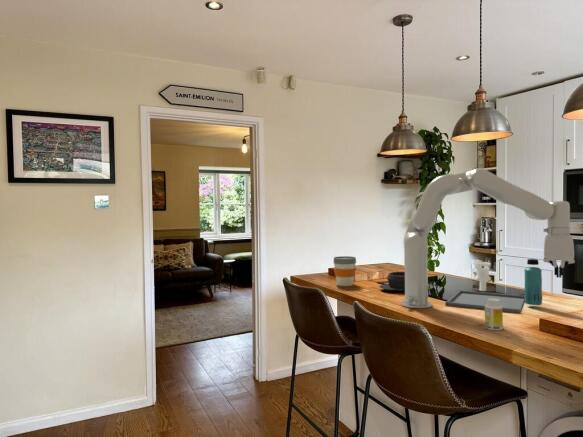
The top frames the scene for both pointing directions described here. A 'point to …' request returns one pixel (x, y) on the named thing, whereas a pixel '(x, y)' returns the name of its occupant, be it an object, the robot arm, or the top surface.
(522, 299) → the grey square tray
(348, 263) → the reusable coffee cup
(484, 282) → the white tall piece
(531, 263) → the beverage bottle
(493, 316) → the supplement bottle
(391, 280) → the cup and saucer
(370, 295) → the top surface
